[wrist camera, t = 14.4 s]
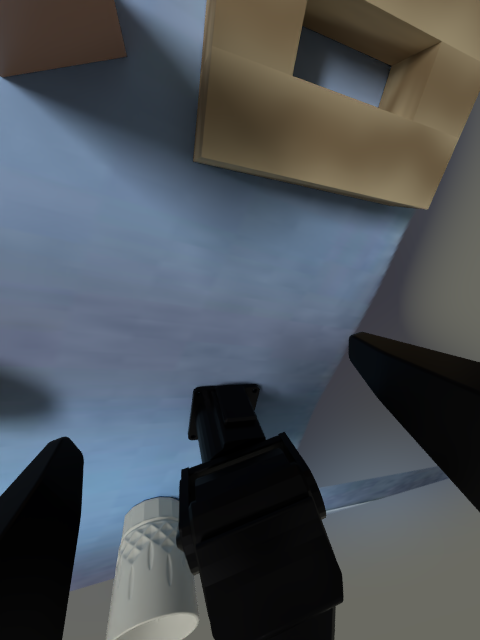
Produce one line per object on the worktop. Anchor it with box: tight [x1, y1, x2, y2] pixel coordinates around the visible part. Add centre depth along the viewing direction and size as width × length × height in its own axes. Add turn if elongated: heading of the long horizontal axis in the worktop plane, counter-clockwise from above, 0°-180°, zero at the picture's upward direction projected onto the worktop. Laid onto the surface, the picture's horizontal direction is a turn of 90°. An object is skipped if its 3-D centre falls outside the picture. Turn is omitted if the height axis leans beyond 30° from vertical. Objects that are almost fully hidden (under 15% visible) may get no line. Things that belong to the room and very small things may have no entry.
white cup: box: [106, 497, 199, 640], centre depth 27 cm, size 8×8×10 cm
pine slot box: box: [193, 0, 480, 210], centre depth 15 cm, size 12×16×4 cm
